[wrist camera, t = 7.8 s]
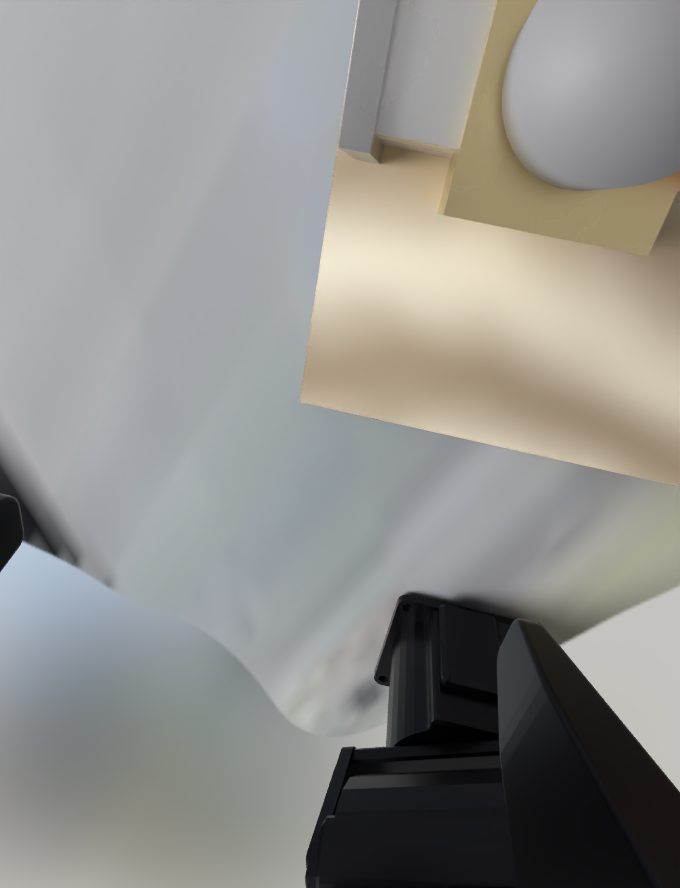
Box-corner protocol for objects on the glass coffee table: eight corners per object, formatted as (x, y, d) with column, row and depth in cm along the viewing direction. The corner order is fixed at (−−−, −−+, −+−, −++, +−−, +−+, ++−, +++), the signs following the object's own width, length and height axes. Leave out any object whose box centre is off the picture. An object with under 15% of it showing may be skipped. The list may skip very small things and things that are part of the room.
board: (668, 473, 19) (680, 487, 18) (304, 392, 20) (299, 401, 19) (994, -77, 12) (1042, -100, 11) (391, -175, 12) (389, -205, 11)
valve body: (776, 280, 15) (904, 308, 11) (347, 194, 16) (324, 191, 12) (916, 42, 12) (1153, -33, 8) (388, -50, 13) (374, -162, 9)
